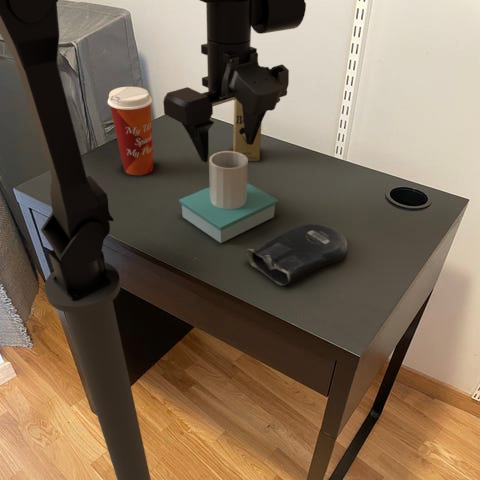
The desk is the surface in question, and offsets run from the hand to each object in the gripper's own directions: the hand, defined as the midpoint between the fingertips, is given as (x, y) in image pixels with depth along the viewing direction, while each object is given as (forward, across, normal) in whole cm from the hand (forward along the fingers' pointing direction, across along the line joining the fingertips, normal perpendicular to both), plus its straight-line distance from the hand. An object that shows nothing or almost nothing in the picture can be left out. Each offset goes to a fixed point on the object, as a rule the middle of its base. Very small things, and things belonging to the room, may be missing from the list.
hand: (227, 152), depth 74 cm
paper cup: (+12, -2, +24) cm, 27 cm away
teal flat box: (+12, 0, 0) cm, 12 cm away
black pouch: (+12, +1, -16) cm, 20 cm away
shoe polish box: (+12, +18, +15) cm, 26 cm away
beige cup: (+8, 0, 0) cm, 8 cm away
